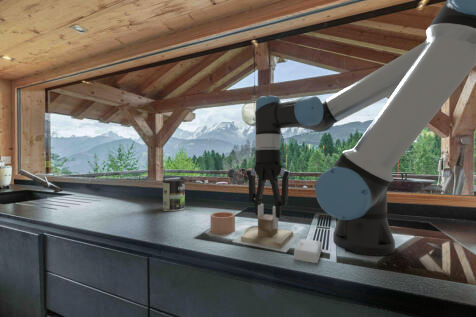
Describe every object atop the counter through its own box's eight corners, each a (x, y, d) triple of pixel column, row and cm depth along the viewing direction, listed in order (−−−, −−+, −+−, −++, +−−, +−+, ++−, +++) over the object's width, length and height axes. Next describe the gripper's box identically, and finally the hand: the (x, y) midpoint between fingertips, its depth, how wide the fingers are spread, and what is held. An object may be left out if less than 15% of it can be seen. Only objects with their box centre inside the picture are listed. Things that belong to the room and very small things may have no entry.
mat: (301, 235, 73) (301, 234, 73) (286, 253, 59) (286, 252, 59) (254, 228, 81) (254, 227, 81) (231, 243, 67) (231, 241, 67)
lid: (293, 235, 72) (293, 215, 72) (281, 248, 62) (281, 224, 62) (257, 229, 78) (257, 211, 78) (241, 240, 68) (241, 219, 68)
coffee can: (188, 207, 116) (188, 179, 116) (179, 212, 106) (179, 181, 106) (169, 206, 118) (169, 178, 118) (158, 211, 108) (158, 180, 108)
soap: (317, 266, 53) (317, 253, 53) (293, 261, 55) (293, 249, 55) (321, 252, 61) (321, 240, 61) (300, 248, 63) (300, 237, 63)
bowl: (239, 229, 79) (239, 213, 79) (226, 236, 72) (226, 218, 72) (219, 226, 83) (219, 211, 83) (205, 232, 76) (205, 215, 76)
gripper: (299, 149, 69) (299, 227, 69) (247, 150, 77) (247, 220, 77) (292, 148, 63) (292, 235, 63) (237, 149, 71) (237, 226, 71)
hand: (268, 226), depth 70 cm, fingers closed on lid, 4 cm apart
